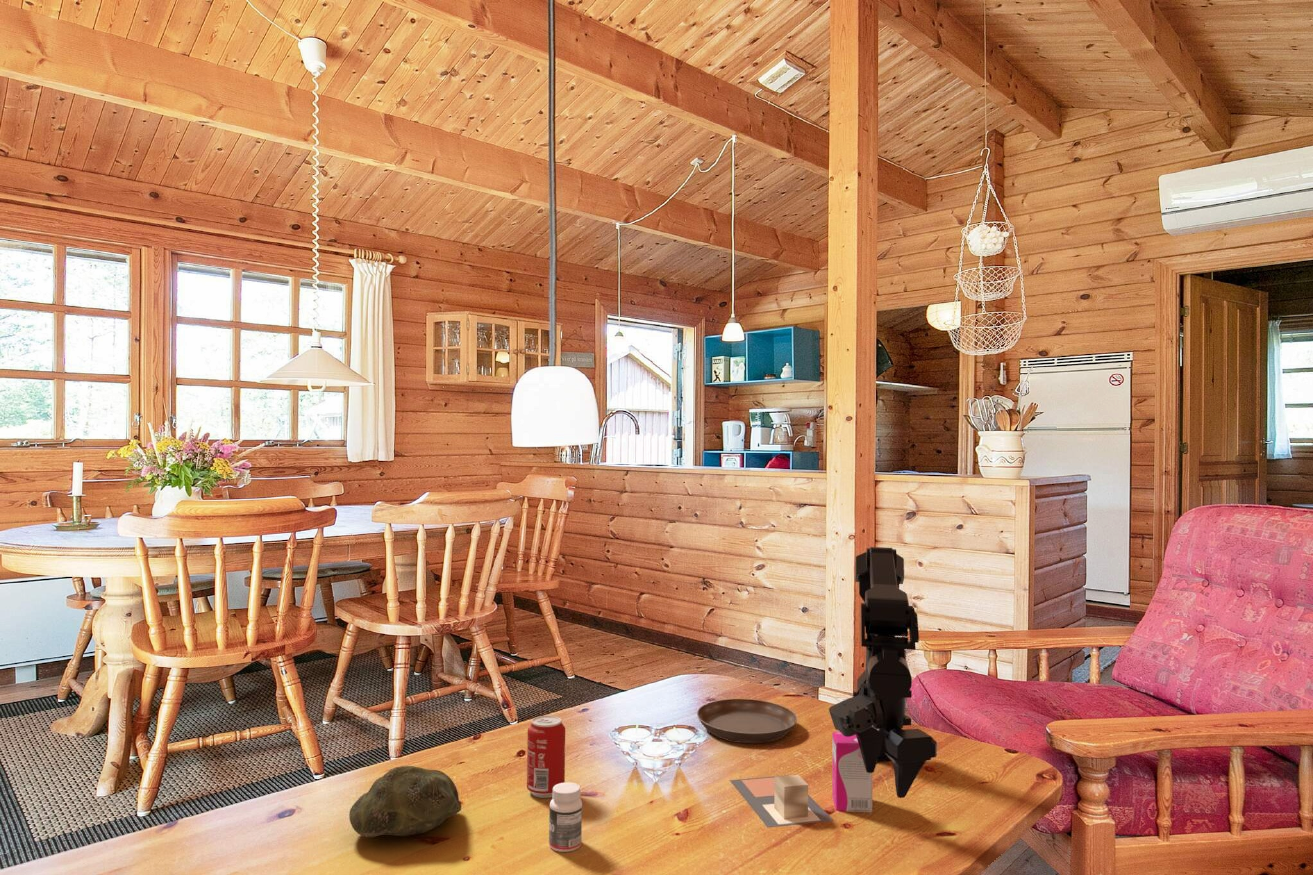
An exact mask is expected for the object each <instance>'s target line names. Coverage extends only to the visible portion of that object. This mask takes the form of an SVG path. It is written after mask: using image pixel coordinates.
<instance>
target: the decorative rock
mask: <svg viewBox="0 0 1313 875" xmlns="http://www.w3.org/2000/svg"><path fill="white" fill-rule="evenodd" d="M461 810H462V805H461V802H460V799H459V792H458V789H457V787H456V784H455V782H454V781H453V780H452V778H451V777H450V776H449V775H448V774H446V773H445V772H444V771H442V770H441V771H440V770H437V769H427V768H423V767H419V766H414V765H404V766H403V765H401V766H397V767H393V768H392V769H390V770H388V771H387V772H386V773H384V775H382V776H381V777H378V778H377V779H376V780H374V782H373V783H372V785H371V786H370V788H369V790H368V791H367V792H365V793H363V794H362V795H361V796H360V797H359V798H358V799H357V800H355V802H354V803H353V804H352V806H351V807H350V809H349V816H348V817H349V822H350V824H351V827H352V829H353V830H354V831H355V832H356V833H357V834H358V835H360V836H361V837H365V838H374V837H378V836H379V837H380V836H396V837H398V836H400V837H407V836H412V835H414V836H418V835H421V834H424V833H426V832H428V831H432V830H433V829H434V828H437V827H438V826H440V825H441V824H443V823H444V821H445V820H447V819H448V818H450V817H452V816H454V815H456V814H459V813H460V811H461Z"/></svg>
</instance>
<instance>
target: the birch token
mask: <svg viewBox="0 0 1313 875" xmlns="http://www.w3.org/2000/svg"><path fill="white" fill-rule="evenodd" d="M788 775H789V776H784V775H776V776H777V777H775V795H774V808H775V809H776V811H777V812H778V813H779V814H780V815H781V816H782V817H783V819H791V818H801V817H808V795H809V784H808V783H807V782H806V781H805V780H804V779H803V778H802V776H800V775H799V774H793V775H792V774H791V775H790V774H788Z"/></svg>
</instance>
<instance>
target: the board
mask: <svg viewBox="0 0 1313 875" xmlns="http://www.w3.org/2000/svg"><path fill="white" fill-rule="evenodd" d="M789 775H790V774H787V775H786V774H784V775H783V776H789ZM777 776H778V775H775V776H762V777H751V778H740V779H730V780H729V782H730V783H731V785H733V787H734V788H735V789H736V790H737V791H738V793H739V795H741V796H742V798H743V799H744V800H745V801H746V803H747V804H748V805H749V807H750V808H751V809H752V810H753V811H754V813H755V814H756V815H757V817H758V818H759V819H760V821H762V822H763V824H764V825H765V826H766V827H767V828H776V827H777V828H778V827H788V826H794V825H795V826H797V825H805V824H815V823H825V822H834V821H835V820H834V818H832V816H830V815H829V814H828V813H827V812H826V810H824V809H823V807H822V806H820V805H819V804H818V803H817V802H816V801H815V800H814V799H813V798H812V796H810V795H809V794H808V817H801V818H791V819H783V817H782V816H781V815H780V814H779V813H778V812H777V811H776V809H775V808H774V795H775V777H777Z"/></svg>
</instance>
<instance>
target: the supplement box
mask: <svg viewBox="0 0 1313 875" xmlns="http://www.w3.org/2000/svg"><path fill="white" fill-rule="evenodd" d="M831 740H832V745H831V746H832V747H831V748H832V750H831V751H832V752H831V753H832V754H831V756H832V757H831V758H832V761H831V762H832V766H831V767H832V770H831V771H832V772H831V774H832V775H831V776H832V782H831V783H832V785H831V786H832V788H831V790H832V792H831V793H832V794H831V797H832V801H833V805H834V808H835V810H836V811H837V812H847V813H849V812H850V813H865V814H866V813H873V773H867V772H866V769H865V765H864V761H863V758H862V754H861V750H860V747H859V743H858V740H857V737H856V735H853V736H850V737H846V736H844V735H843V734H842V733H841V732H840V731H832V739H831Z"/></svg>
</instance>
